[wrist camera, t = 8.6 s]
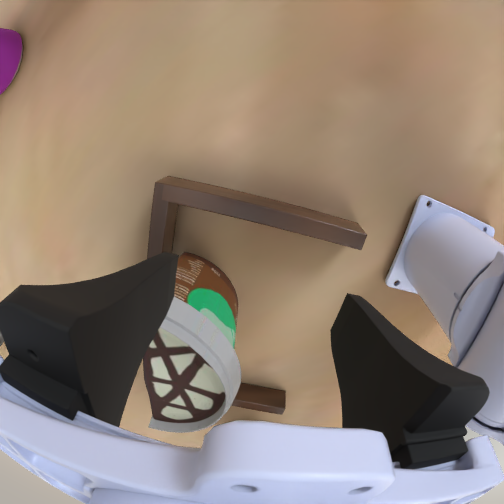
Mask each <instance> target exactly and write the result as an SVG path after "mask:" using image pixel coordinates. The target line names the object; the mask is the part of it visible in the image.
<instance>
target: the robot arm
mask: <svg viewBox="0 0 504 504" xmlns="http://www.w3.org/2000/svg"><path fill="white" fill-rule="evenodd" d="M428 201H429V202H430V204H429V206H427V205H426V204H427V202H428ZM484 227H485V228H484ZM483 228H484V230H483ZM494 232H495V230H494V228H493V227H491V226H489V225H487V224H485V223H483V222H481V221H480V220H478V219H476V218H473V217H471V216H469V215H467V214H465V213H463V212H461V211H459V210H457V209H455V208H452V207H450V206H448V205H446V204H444V203H441V202H439V201H437V200H435V199H432V198H430V197H428V196H425V195H420V196H419V197H418V199H417V202H416V205H415V208H414V210H413V213H412V216H411V219H410V221H409V224H408V227H407V229H406V232H405V234H404V237H403V240H402V242H401V245H400V247H399V249H398V252H397V254H396V257H395V259H394V261H393V264H392V266H391V268H390V270H389V273H388V275H387V277H386V280H385V283H386V284H387V286H389V287H392V288H396V289H400V290H404V291H408V292H412V293H416V294H419V295H420V297H421V298H422V300H423V301H424V303H425V304H426V305H427V307H428V308H429V310H430V311H431V313H432V314H433V316H434V317H435V319H436V320H437V322H438V323H439V325H440V326H441V328H442V329H443V331H444V332H445V334H446V336H447V337H448V339H449V340H450V342H451V349H450V352H449V353H448V357H449V359H450V361H451V363H452V364H453V366H452V365H450V364H448V363H446V362H444V361H442V360H440V359H438V358H437V357H435V356H433V355H432V354H430V353H428V352H427V351H425V350H424V349H422V348H421V347H420V346H418V345H417V344H415V343H414V342H413V341H411V340H410V339H409V338H407V337H406V336H405V335H404V334H403V333H401V332H400V331H399V330H398V329H397V328H396V327H395V326H393V325H392V324H391V323H390V322H389V321H388V320H387V319H386V318H385V317H384V316H383V315H381V314H380V313H379V312H378V311H377V310H376V309H375V308H374V307H373V306H372V305H371V304H369V303H368V302H367V301H366V300H365V299H363V298H362V297H361V296H358V295H353V294H348V293H347V295H346V297H345V300H344V302H343V304H342V306H341V309H340V311H339V313H338V315H337V318H336V320H335V322H334V324H333V326H332V328H331V347H332V354H333V359H334V364H335V368H336V373H337V378H338V383H339V387H340V393H341V401H342V426H343V428H330V427H314V426H302V425H292V424H283V423H275V422H267V421H250V420H236V421H232V422H228V423H224V424H219V425H217V426H214V427H213V428H212V429H211V430H210V431H209V432H208V433H207V434H206V435H205V436H204V441H203V445H202V447H201V448H191V447H181V446H176V445H172V444H168V443H165V442H161V441H158V440H154V439H151V438H148V437H145V436H142V435H139V434H136V433H133V432H130V431H127V430H124V429H122V428H119V425H120V421H121V418H122V414H123V411H124V408H125V405H126V402H127V399H128V396H129V393H130V390H131V387H132V384H133V382H134V379H135V376H136V374H137V371H138V368H139V366H140V363H141V361H142V359H143V357H144V355H145V353H146V351H147V349H148V347H149V345H150V344H151V342H152V340H153V338H154V337H155V335H156V333H157V331H158V330H159V328H160V326H161V324H162V322H163V321H164V319H165V317H166V315H167V313H168V311H169V308H170V306H171V303H172V300H173V298H174V292H175V282H176V273H177V264H178V256H179V255H175V254H171V253H167V252H163V253H160V254H158V255H156V256H153V257H151V258H149V259H147V260H145V261H142V262H140V263H138V264H136V265H133V266H131V267H128V268H126V269H123V270H121V271H118V272H116V273H113V274H110V275H106V276H103V277H99V278H96V279H92V280H86V281H81V282H76V283H69V284H60V285H20V286H19V287H17V288H16V289H15V290H14V291H13V292H12V293H11V294H9V295H8V296H7V297H6V298H5V299H4V300H3V301H2V302H0V331H1V334H2V337H3V340H4V342H5V345H6V347H7V350H8V352H9V355H8V357H7V358H6V359H5V360H4V359H3V358H2V356H1V355H0V449H1V450H2V451H3V452H5V453H6V454H7V455H8V456H10V457H11V458H13V459H14V460H15V461H16V462H18V463H19V464H21V465H22V466H23V467H25V468H26V469H28V470H29V471H31V472H32V473H33V474H35V475H36V476H38V477H40V478H41V479H43V480H44V481H46V482H47V483H49V484H51V485H52V486H54V487H56V488H57V489H59V490H61V491H62V492H64V493H66V494H68V495H70V496H72V497H73V498H75V499H77V500H79V501H81V502H83V503H85V504H469V503H471V502H472V501H474V500H475V499H477V498H479V497H480V496H482V495H483V494H485V493H486V492H488V491H489V490H491V489H492V488H494V487H495V486H497V485H498V484H499V483H501V482H502V481H503V480H504V474H503V472H502V469H501V466H500V464H499V461H498V459H497V456H496V454H495V451H494V449H493V446H492V444H491V442H490V439H489V437H491V438H493V439H495V440H497V441H499V442H500V443H502V444H503V445H504V246H503V245H502V244H500V243H499V242H498V241H496V240H495V239H493V236H494ZM397 280H398V282H397V283H396V284H394V282H395V281H397ZM465 426H466V427H468V428H469V429H471V430H472V431H474V432H476V433H479V434H481V435H483V436H480V437H476V438H472V439H470V440H468V441H466V442H465V441H464V438H463V436H465V435H466V434H467V430H466V428H465Z"/></svg>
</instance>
